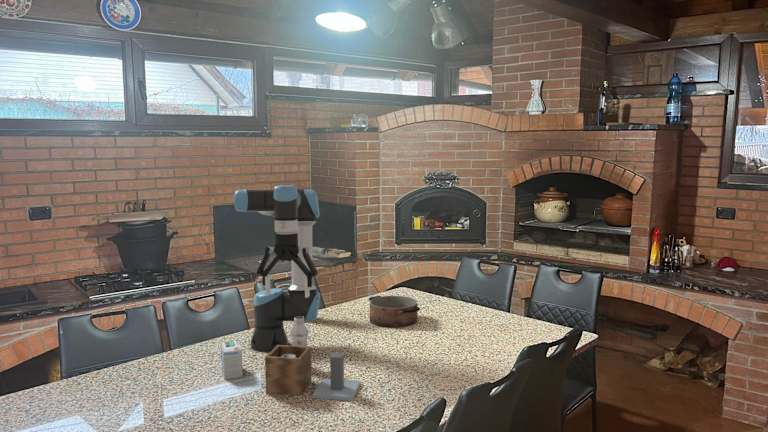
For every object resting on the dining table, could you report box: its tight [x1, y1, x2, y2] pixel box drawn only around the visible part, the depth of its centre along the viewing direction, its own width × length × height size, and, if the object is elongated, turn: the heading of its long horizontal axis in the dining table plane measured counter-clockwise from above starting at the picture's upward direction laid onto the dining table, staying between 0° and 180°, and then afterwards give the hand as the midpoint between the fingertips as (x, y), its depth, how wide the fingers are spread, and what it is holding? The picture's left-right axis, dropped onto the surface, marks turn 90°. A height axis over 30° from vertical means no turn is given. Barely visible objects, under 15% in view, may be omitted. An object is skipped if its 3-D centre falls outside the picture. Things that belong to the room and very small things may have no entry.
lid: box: [312, 353, 361, 402], centre depth 187 cm, size 13×13×13 cm
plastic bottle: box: [290, 316, 309, 347], centre depth 208 cm, size 6×7×20 cm
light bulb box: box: [220, 340, 244, 380], centre depth 204 cm, size 11×7×11 cm, turn 21°
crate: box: [264, 345, 312, 396], centre depth 190 cm, size 12×12×14 cm
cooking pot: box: [368, 295, 421, 329], centre depth 265 cm, size 30×22×11 cm
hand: (287, 296), depth 187 cm, fingers open, 13 cm apart
